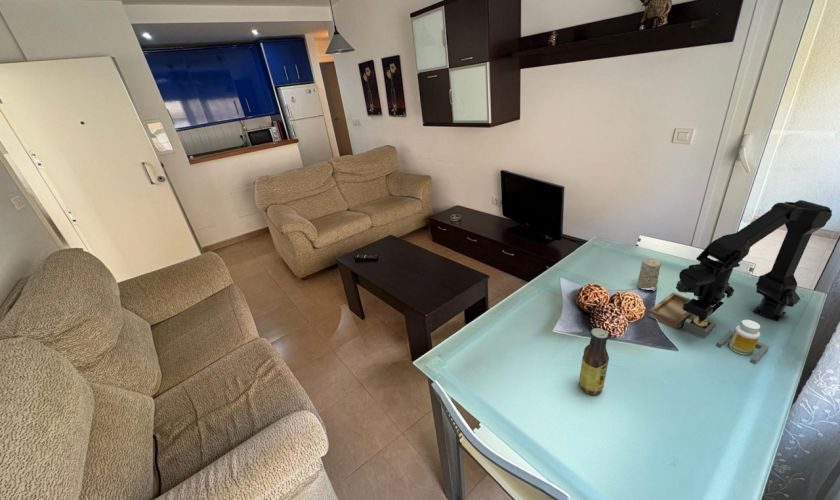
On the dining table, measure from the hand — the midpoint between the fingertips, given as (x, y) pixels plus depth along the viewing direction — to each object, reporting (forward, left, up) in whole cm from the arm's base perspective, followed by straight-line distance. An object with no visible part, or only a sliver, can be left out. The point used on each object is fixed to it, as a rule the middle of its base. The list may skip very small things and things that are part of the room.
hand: (701, 320), depth 109 cm
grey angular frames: (0, +6, -4) cm, 7 cm away
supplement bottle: (0, +11, -4) cm, 12 cm away
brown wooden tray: (-3, -9, -4) cm, 10 cm away
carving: (-11, -22, -4) cm, 25 cm away
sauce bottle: (+46, -7, -4) cm, 47 cm away
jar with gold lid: (0, 0, -3) cm, 3 cm away
